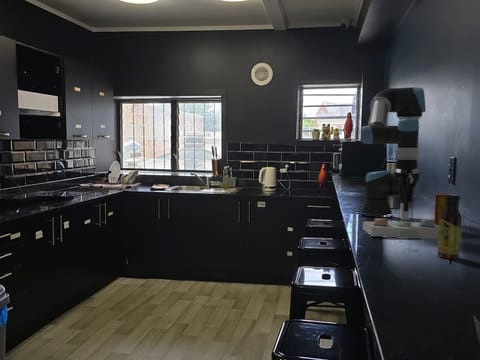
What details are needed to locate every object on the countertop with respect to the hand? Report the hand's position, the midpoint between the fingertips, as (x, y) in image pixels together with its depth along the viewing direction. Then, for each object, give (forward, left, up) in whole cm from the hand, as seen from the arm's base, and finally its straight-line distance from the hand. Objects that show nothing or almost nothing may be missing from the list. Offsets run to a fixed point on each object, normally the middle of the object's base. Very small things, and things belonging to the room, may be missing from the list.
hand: (404, 219), depth 172 cm
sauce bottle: (+36, +2, -7) cm, 36 cm away
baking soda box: (-12, +20, -7) cm, 24 cm away
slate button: (0, +9, -3) cm, 9 cm away
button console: (-1, 0, -7) cm, 7 cm away
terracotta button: (0, -9, -3) cm, 10 cm away
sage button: (0, 0, -4) cm, 4 cm away
